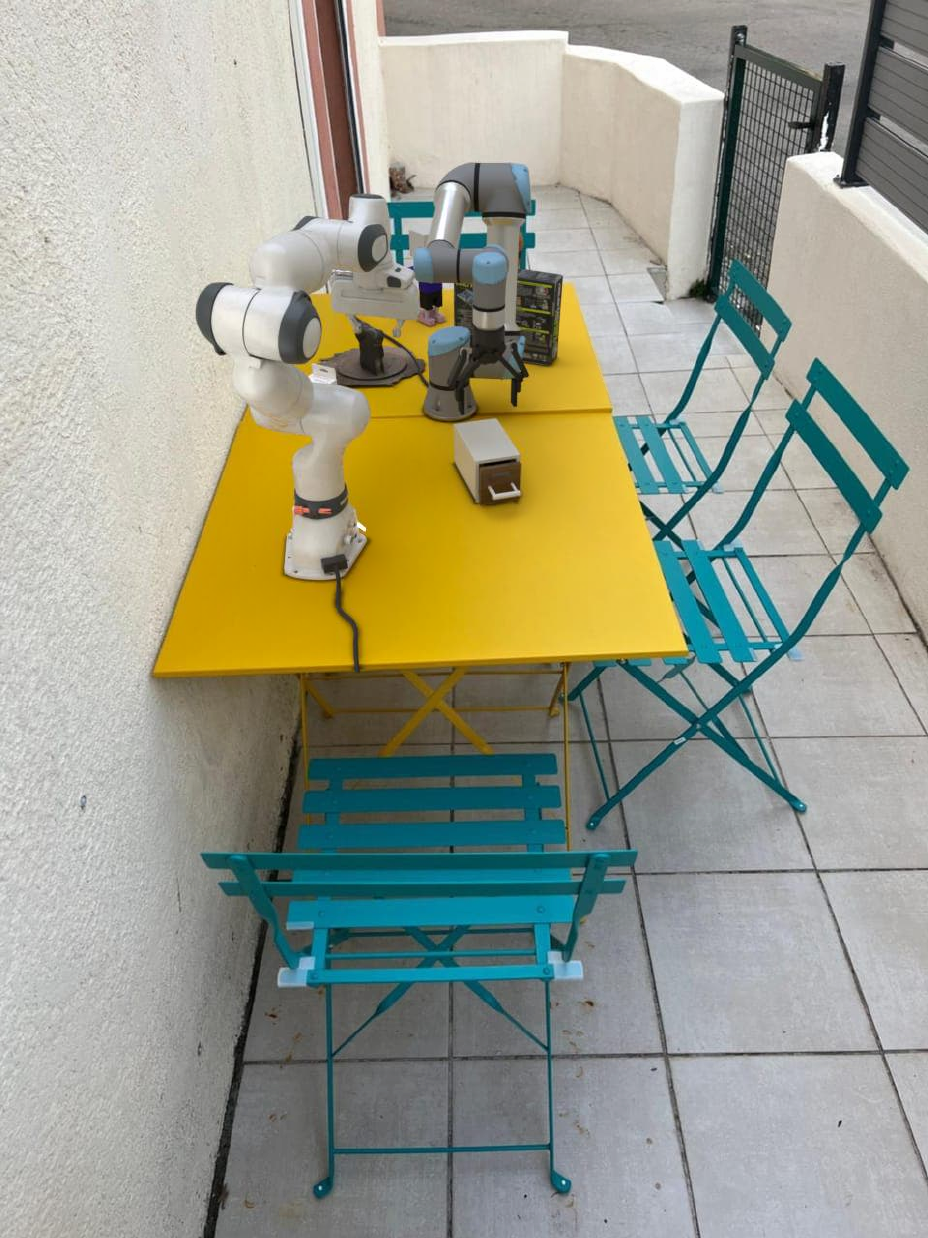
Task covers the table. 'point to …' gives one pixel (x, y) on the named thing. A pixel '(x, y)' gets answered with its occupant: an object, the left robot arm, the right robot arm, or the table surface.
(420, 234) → the toy
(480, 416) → the table surface
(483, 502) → the drawer
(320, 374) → the ink box
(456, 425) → the cabinet
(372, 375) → the sculpture
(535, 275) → the box
